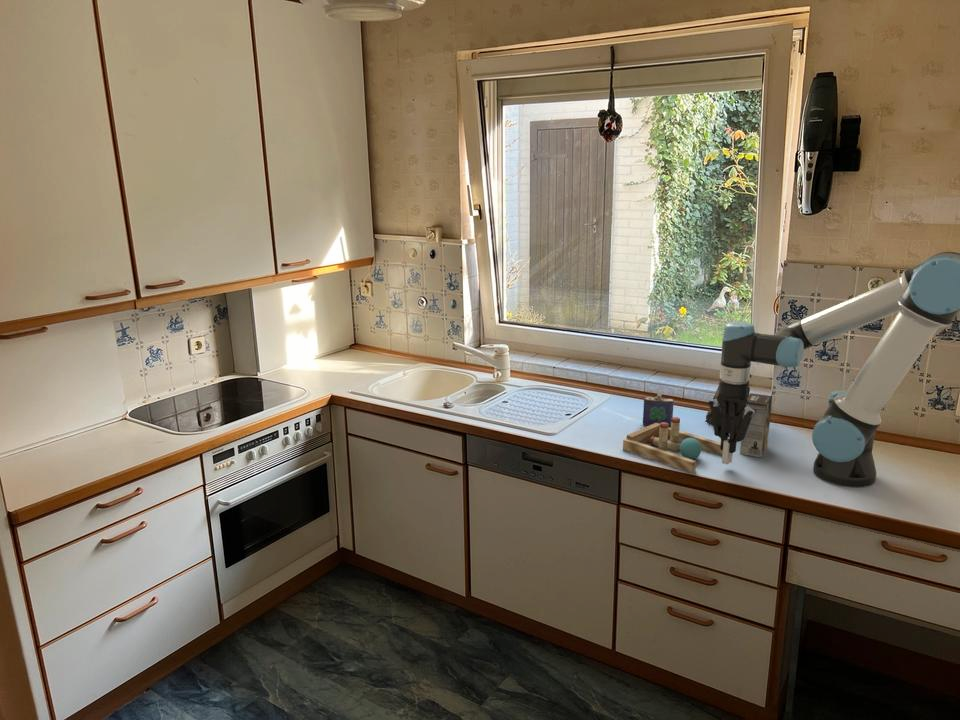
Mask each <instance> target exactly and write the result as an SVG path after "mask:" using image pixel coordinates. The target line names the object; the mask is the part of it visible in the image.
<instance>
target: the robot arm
mask: <svg viewBox="0 0 960 720" xmlns="http://www.w3.org/2000/svg"><path fill="white" fill-rule="evenodd" d="M959 312H960V252H955V251H943V252H939V253H935V254H934V255H931V256H930V257H928V258H927V259H925V260H923V261H922V262H921V263H918V264H917V265H915V266H912V267H911V268H908V269H906V270H904V271H902V274H901V275H900V277H898V278H896V279H894V280H890V281H889V282H886V283H884V284H882V285H879V286H877V287H875V288H872V289H871V290H868V291H865V292H863V293H861V294H859V295H856V296H853V297H851V298H850V299H847V300H845V301H842V302H840V303H838V304H835V305H832V306H830V307H828V308H826V309H824V310H821V311H818V312H817V313H814V314H811V315H809V316H807V317H805V318H802V319H800V320H798V321H795V322H794V323H788V324H786V325H784V326H781V328H779V330H778V331H776V332H775V333H773V334H768V333H767V334H766V333H759V332H756V330H755V325H754V324H753V323H750V322H745V321H731V322H728V323H726V324H725V325H724V328H723V334H722V335H723V336H722V339H721V340H722V344H721V357H720V359H721V360H720V370H719V378H720V380H719V381H718V386H719V390H718V392H719V394H718V396H717V399H713V398H712V399H713V400H712V399H711V400H709V401H708V402H707V404H708V406H709V407H710V408H711V412H712V419H713V426H712V427H713V431H714V432H713V433H714V435H715V436H716V437H718V438H720V443H721V446H720V449H721V450H722V451H723V455H721V457H722V459H721V464H724V465H726V466H727V465H729V464H730V463H732V462H733V454H734V453H736V451H737V444H738V443H741V441H742V440H743V439H744V438H745V435H746V432H747V429H748V427H749V424H750V421H751V418H752V416H753V415H754V414H755V413H756V410H755V409H751V408H750V407H749V406H748V400H747V396H748V389H749V388H750V379H751V378H750V374H751V366H752V365H751V364H752V362H753V363H757V364H758V363H759V364H760V363H761V364H765V365H772V366H777V367H778V366H779V367H782V368H798V367H799V366H800V364H801V362H802V360H803V356H804V350H807V349H809V348H812V347H814V346H816V345H819V344H822V343H823V342H826V341H828V340H831V339H834V338H837V337H839V336H841V335H844V334H847V333H849V332H851V331H854V330H857V329H859V328H861V327H864V326H866V325H868V324H869V325H870V324H872V323H874V322H877V321H879V320H882V319H885V318H886V317H889V316H893V315H894V314H896V313H897V314H896V316H895V318H894V319H893V320H892V321H891V323H890V325H889V326H888V328H887V329H886V331H885V332H884V334H883V335H882V337H881V338H880V340H879V341H878V343H877V344H876V347H874V349H873V351H872V352H871V354H870V355H869V356H868V358H867V359H866V361H865V363H864V364H863V366H862V367H861V369H860V370H859V372H858V373H857V375H856V376H855V378H854V380H853V381H852V383H851V385H850V386H849V387H848V389H847V390H835V391H832V392H830V395H829V398H827V399H828V407H827V409H826V410H825V412H824V413H823V415H822V416H821V418H820V419H819V421H818V422H816V423H815V425H814V426H813V429H812V433H811V438H812V443H813V446H814V447H815V449H816V451H817V452H818V454H817V456H816V458H815V460H814V462H813V465H812V466H813V468H812V472H813V474H814V475H815V476H816V477H817V478H819V479H821V480H823V481H824V482H827V483H829V484H832V485H833V484H834V485H837V486H842V487H848V488H865V487H869V486H872V485H874V484H875V483H876V480H877V469H876V464H875V460H874V456H873V455H874V454H873V449H874V442H875V435H876V431H877V429H879V426H881V424H882V417H881V414H880V413H881V411H882V409H884V407H885V405H886V404H887V403H888V401H889V400H890V399H891V397H892V395H893V394H894V392H895V391H896V389H897V388H898V387H899V385H900V384H901V383H902V381H903V380H904V378H905V377H906V375H907V374H908V373H909V371H910V369H912V367H913V365H914V364H915V363H916V361H917V360H918V358H919V357H920V355H921V354H922V352H923V351H924V349H925V348H926V346H927V345H928V344H929V342H930V340H931V339H932V338H933V336H934V335H935V334H936V332H937V331H938V329H940V328H945V327H948V326H950V325H951V324H952V322H953V321H954V320H955V319H956V317H957V315H958V314H959ZM748 381H749V383H748ZM719 405H720V407H721V409H722V414H720V407H719ZM744 409H745V412H744V414H745V416H744V417H743V420H742V423H741V425H740V428H739V419H740V416H741V412H742V411H743V410H744ZM721 415H722V421H721ZM730 419H731V424H730ZM729 430H730V434H729ZM738 430H739V431H738Z"/></svg>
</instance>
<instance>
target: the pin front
mask: <svg viewBox="0 0 960 720" xmlns="http://www.w3.org/2000/svg"><path fill="white" fill-rule="evenodd" d="M649 444H650V445H652V446H656V447H658V446H659V437H658V438H656V437H653V436H652V437H651V439H650V442H649ZM680 444H681V443H679V444H677V443H674V442H670V440H667V449H669V450H672V451H675V452H679V451H680Z"/></svg>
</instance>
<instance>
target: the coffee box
mask: <svg viewBox="0 0 960 720" xmlns="http://www.w3.org/2000/svg"><path fill="white" fill-rule="evenodd" d="M747 400H748V406H749V407H750V408H751V409H755V410H756V413H755V414H754V415H753V416H752V418H751V421H750V424H749V427H748V429H747V432H746V435H745V438H744V439H743V440H742V441H740V444H739V445H740V447H739V454H741V455H745V456H751V457H756V458H763V457H764V455H765V452H766V450H767V448H768V445H769V436H770V435H769V433H770V424H771V413H772V403H773V395H769V394H767V395H766V394H761V393H752V392H751V393H750V392H749V396H748V397H747ZM744 412H745V409H744ZM744 412H743V417H744V416H745V414H744Z"/></svg>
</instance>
